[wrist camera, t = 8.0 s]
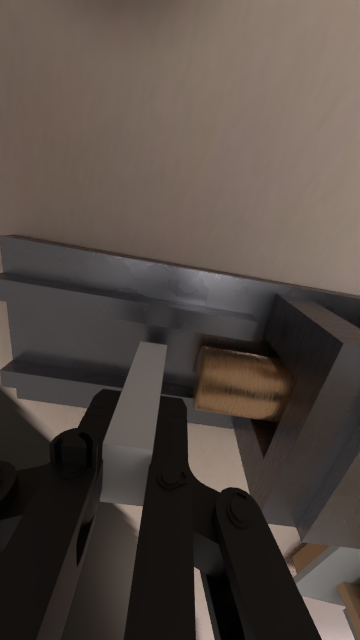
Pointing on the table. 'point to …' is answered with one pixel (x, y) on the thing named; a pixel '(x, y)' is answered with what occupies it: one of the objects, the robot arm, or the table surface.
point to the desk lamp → (331, 578)
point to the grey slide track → (181, 356)
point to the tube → (241, 384)
